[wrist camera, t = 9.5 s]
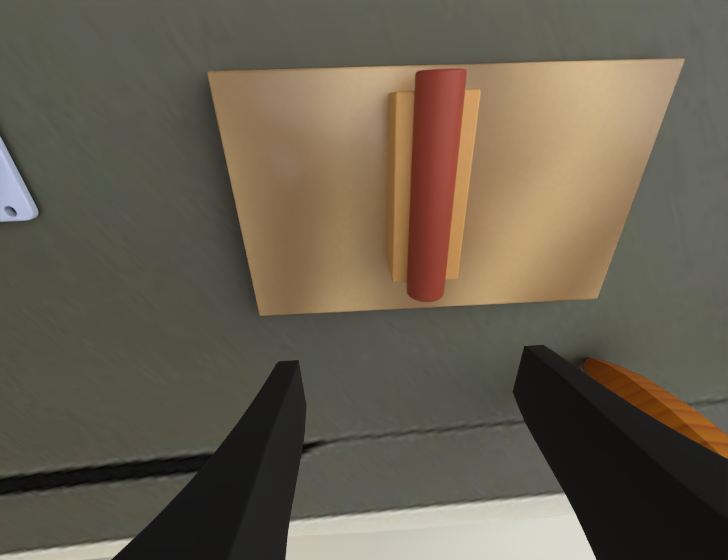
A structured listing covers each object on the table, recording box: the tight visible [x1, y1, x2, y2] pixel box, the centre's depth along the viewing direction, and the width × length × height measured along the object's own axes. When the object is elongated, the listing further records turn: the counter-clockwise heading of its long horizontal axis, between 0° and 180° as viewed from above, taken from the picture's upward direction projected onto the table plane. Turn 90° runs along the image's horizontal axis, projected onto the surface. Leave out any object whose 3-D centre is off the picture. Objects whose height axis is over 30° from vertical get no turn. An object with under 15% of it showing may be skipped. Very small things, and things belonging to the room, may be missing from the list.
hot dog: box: [387, 68, 481, 302], centre depth 15 cm, size 3×9×3 cm, turn 1°
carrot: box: [583, 358, 728, 459], centre depth 17 cm, size 5×5×15 cm
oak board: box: [207, 58, 685, 316], centre depth 17 cm, size 20×12×1 cm, turn 91°
